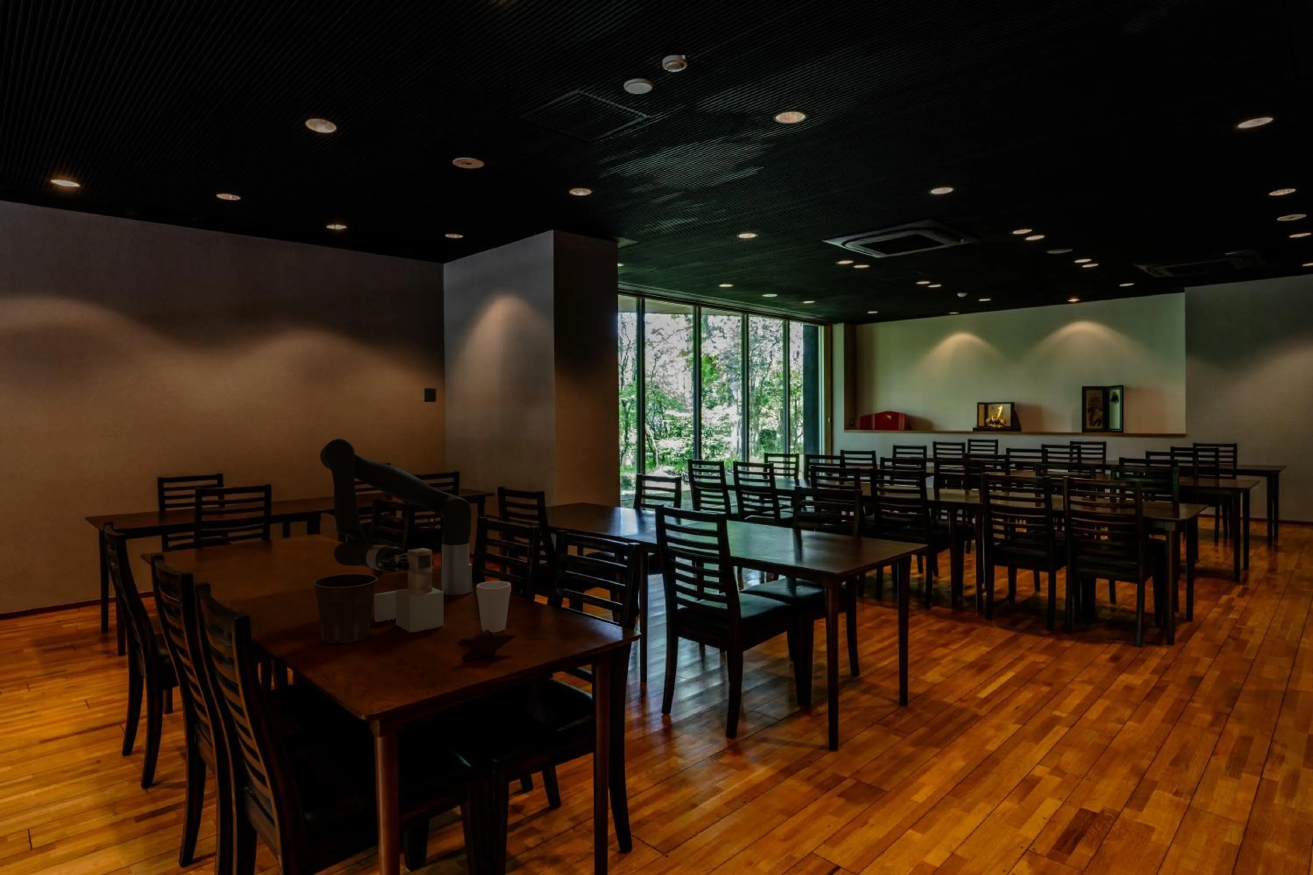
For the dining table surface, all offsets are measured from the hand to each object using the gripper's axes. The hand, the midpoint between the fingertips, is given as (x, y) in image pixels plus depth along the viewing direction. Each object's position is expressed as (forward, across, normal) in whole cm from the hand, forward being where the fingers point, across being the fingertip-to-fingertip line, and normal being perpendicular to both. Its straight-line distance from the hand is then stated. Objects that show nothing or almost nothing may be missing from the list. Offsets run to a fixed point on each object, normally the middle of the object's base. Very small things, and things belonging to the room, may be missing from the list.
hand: (420, 564), depth 208 cm
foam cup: (+21, +9, +18) cm, 29 cm away
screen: (-12, +3, +18) cm, 22 cm away
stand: (0, 0, +18) cm, 18 cm away
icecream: (+36, -8, +18) cm, 41 cm away
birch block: (-1, 0, +8) cm, 8 cm away
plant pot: (-7, -19, +18) cm, 27 cm away
